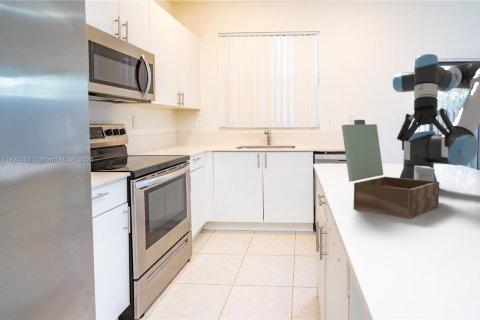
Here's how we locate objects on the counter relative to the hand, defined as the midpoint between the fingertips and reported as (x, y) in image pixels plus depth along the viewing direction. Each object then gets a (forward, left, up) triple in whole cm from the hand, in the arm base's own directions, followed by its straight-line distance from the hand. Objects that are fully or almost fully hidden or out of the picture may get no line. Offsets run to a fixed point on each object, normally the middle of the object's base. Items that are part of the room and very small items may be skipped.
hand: (424, 158), depth 137 cm
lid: (+19, -12, +4) cm, 23 cm away
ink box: (0, 0, -15) cm, 15 cm away
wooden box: (+19, -1, -15) cm, 24 cm away
